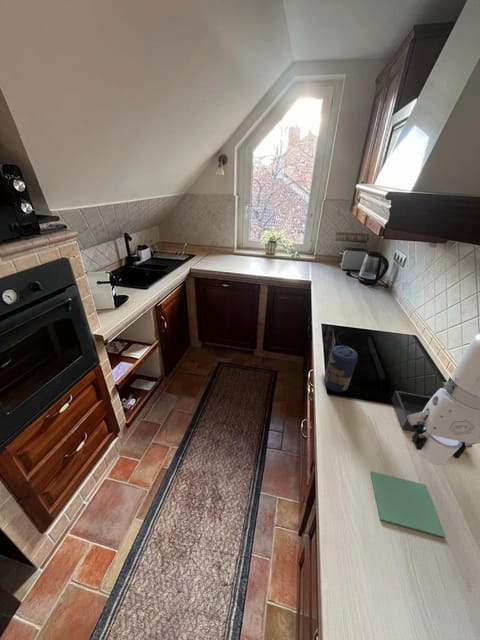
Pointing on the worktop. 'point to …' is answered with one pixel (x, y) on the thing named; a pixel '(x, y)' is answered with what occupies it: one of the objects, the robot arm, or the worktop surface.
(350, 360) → the canister
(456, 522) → the worktop surface
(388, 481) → the drying mat
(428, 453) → the white short cylinder
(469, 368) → the robot arm
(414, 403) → the basin
